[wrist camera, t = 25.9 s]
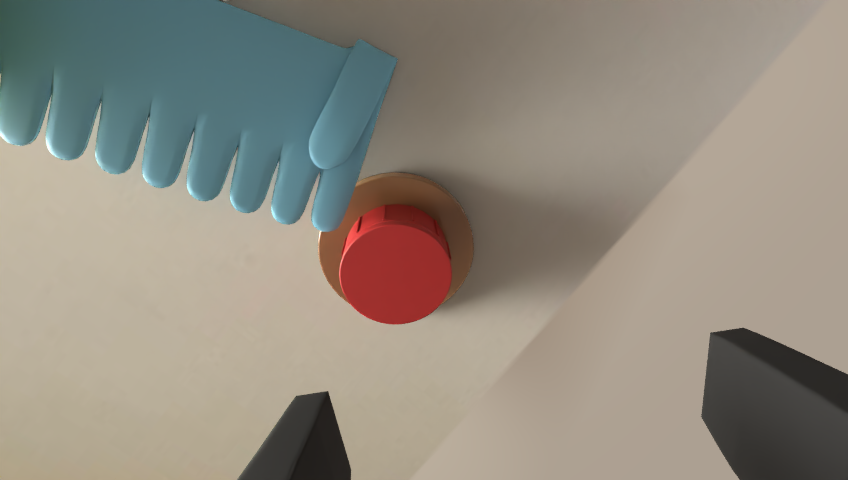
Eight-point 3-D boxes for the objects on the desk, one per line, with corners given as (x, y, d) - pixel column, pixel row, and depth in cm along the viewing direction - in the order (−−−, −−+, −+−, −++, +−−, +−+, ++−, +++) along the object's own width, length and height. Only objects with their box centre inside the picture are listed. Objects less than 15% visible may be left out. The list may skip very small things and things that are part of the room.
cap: (450, 206, 18) (457, 227, 16) (442, 297, 19) (447, 326, 17) (345, 201, 18) (338, 221, 16) (345, 293, 19) (339, 323, 17)
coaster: (502, 229, 19) (505, 235, 18) (413, 334, 21) (413, 342, 20) (376, 140, 17) (375, 143, 17) (291, 262, 19) (288, 268, 19)
